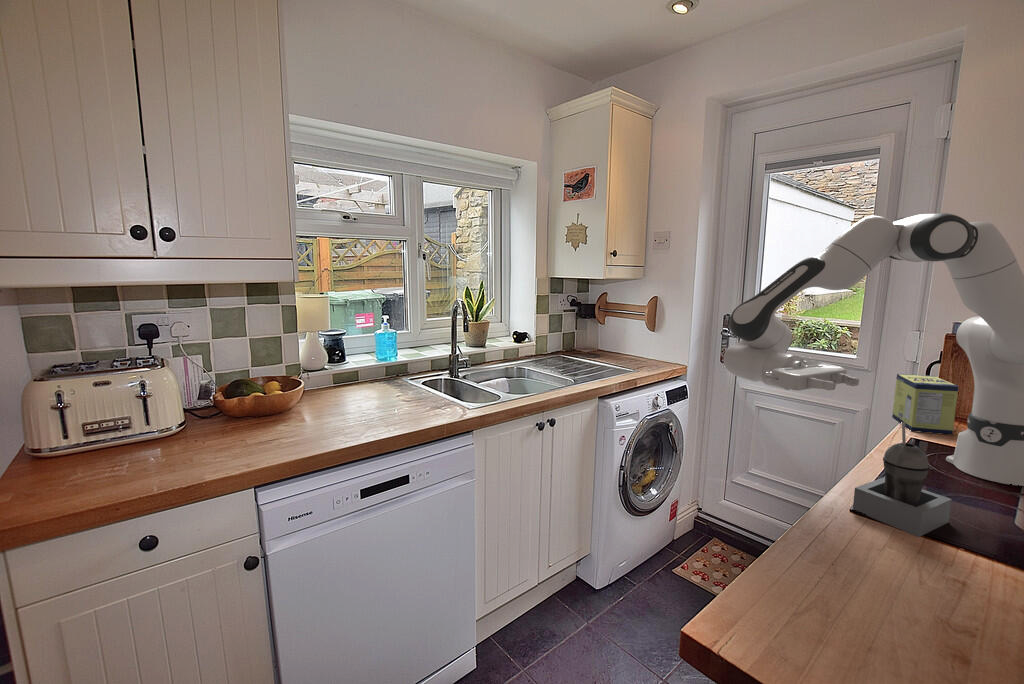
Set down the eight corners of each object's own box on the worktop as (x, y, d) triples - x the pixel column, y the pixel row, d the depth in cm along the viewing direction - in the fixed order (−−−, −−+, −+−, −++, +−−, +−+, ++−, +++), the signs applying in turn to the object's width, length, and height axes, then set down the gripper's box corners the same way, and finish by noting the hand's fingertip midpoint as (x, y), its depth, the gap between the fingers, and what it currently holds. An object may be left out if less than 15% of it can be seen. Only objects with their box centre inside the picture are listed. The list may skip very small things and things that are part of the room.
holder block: (882, 497, 102) (884, 476, 102) (948, 522, 92) (951, 499, 91) (852, 509, 98) (854, 487, 97) (918, 537, 87) (921, 512, 87)
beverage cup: (931, 527, 91) (944, 430, 88) (889, 523, 92) (900, 428, 89) (908, 508, 98) (919, 418, 95) (869, 505, 99) (879, 416, 96)
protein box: (929, 420, 154) (934, 375, 152) (953, 435, 140) (960, 386, 138) (890, 417, 158) (895, 373, 156) (910, 431, 144) (916, 383, 141)
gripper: (759, 361, 109) (820, 374, 97) (810, 356, 118) (871, 367, 106) (756, 387, 110) (816, 403, 98) (807, 379, 119) (867, 393, 107)
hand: (845, 384), depth 102 cm, fingers open, 8 cm apart
